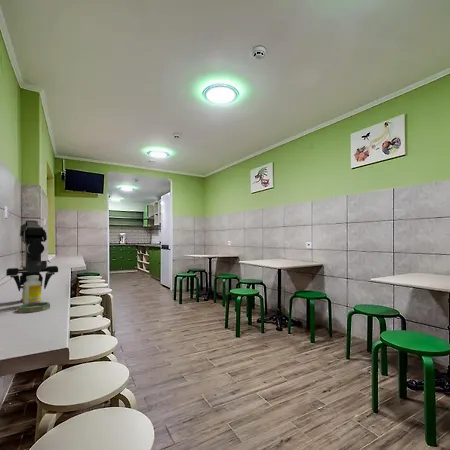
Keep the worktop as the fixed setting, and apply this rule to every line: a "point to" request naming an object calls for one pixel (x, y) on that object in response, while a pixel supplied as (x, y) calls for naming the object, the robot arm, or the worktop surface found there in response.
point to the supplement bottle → (32, 290)
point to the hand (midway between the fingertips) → (32, 290)
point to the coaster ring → (34, 307)
